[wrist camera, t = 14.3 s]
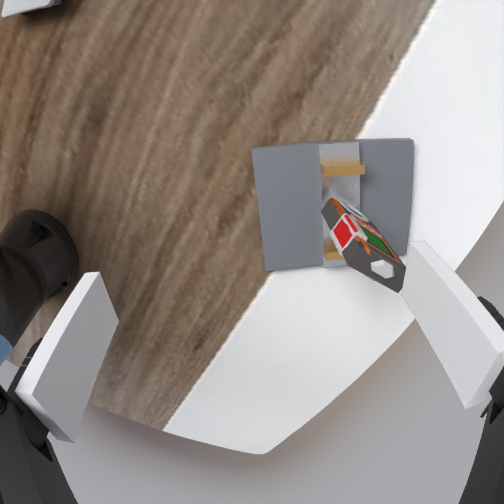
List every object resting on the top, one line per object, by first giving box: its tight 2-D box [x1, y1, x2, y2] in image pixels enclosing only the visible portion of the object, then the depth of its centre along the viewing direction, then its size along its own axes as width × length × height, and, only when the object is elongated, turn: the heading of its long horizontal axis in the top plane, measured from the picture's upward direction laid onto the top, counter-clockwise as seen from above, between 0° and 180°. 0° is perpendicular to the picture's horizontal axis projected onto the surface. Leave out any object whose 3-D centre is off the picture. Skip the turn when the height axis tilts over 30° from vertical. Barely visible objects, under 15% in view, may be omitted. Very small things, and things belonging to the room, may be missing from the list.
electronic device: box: [321, 197, 406, 293], centre depth 34 cm, size 7×3×15 cm, turn 61°
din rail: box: [318, 141, 365, 268], centre depth 40 cm, size 5×17×3 cm, turn 7°
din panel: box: [251, 138, 413, 271], centre depth 41 cm, size 21×17×1 cm
